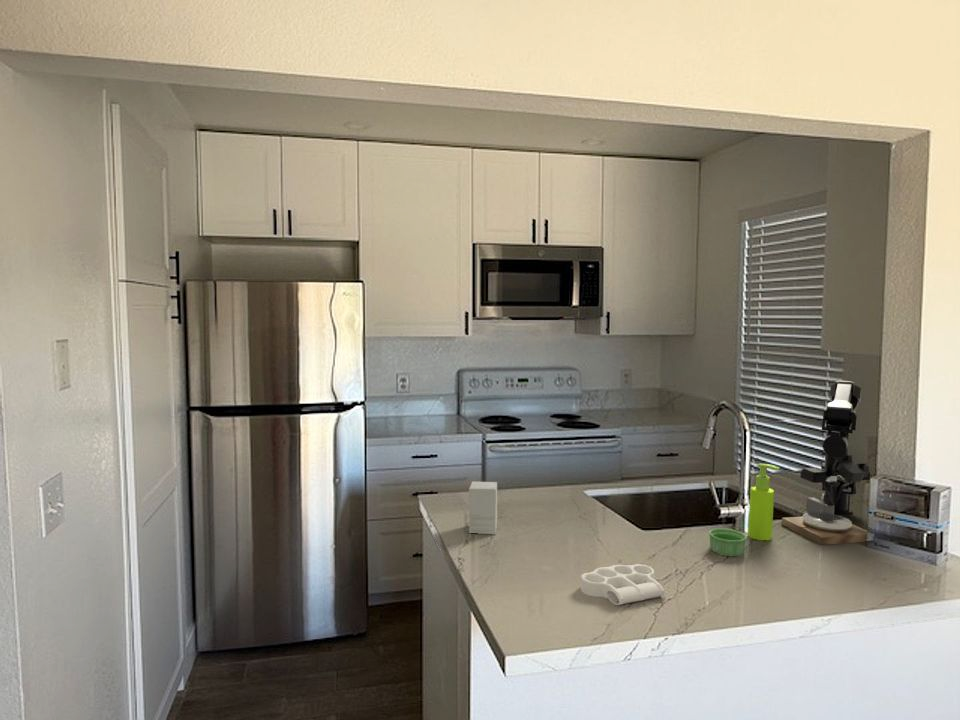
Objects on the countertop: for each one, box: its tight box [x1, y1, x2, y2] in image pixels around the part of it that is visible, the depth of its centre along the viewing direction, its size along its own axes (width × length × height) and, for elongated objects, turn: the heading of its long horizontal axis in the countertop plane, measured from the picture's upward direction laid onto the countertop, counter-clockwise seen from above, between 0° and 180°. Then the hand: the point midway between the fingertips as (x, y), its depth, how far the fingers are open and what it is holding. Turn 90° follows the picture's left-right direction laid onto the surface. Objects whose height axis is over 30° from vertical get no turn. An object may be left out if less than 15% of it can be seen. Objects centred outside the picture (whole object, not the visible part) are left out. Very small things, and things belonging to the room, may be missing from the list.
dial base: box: [781, 515, 868, 546], centre depth 182 cm, size 16×16×2 cm
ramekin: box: [708, 527, 748, 557], centre depth 168 cm, size 9×9×4 cm
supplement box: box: [468, 480, 498, 535], centre depth 181 cm, size 7×7×13 cm
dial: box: [802, 497, 853, 532], centre depth 182 cm, size 13×12×6 cm
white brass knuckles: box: [580, 563, 666, 606], centre depth 145 cm, size 3×18×15 cm
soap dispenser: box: [747, 462, 781, 541], centre depth 177 cm, size 6×7×20 cm
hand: (833, 503), depth 188 cm, fingers closed
